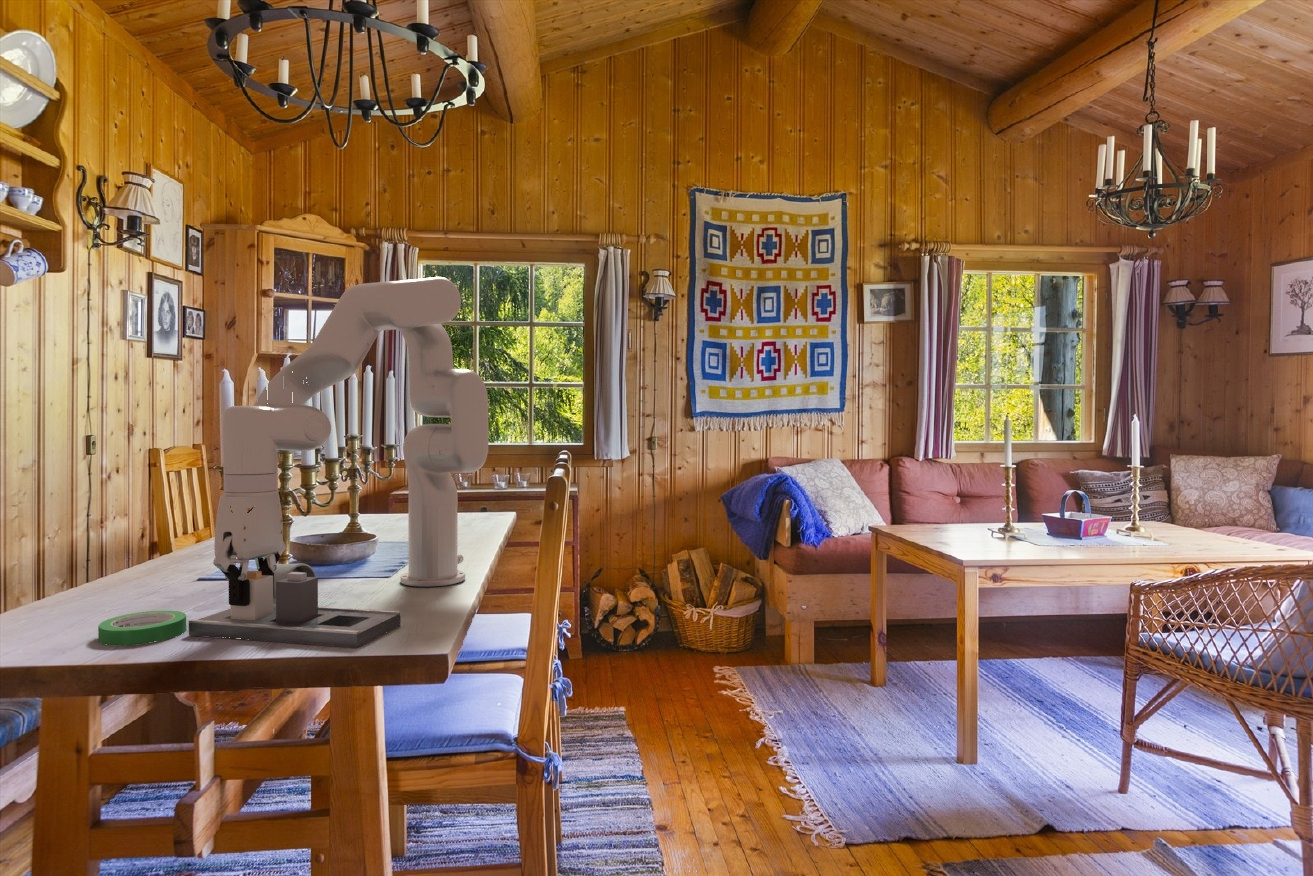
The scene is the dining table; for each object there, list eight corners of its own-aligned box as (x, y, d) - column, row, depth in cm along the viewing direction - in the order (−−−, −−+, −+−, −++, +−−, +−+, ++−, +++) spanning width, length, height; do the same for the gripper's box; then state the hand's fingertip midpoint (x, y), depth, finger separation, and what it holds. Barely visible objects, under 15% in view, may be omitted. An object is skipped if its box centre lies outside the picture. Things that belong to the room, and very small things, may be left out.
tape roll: (126, 652, 110) (125, 633, 109) (82, 641, 115) (82, 623, 114) (202, 632, 119) (202, 615, 119) (159, 623, 124) (158, 607, 124)
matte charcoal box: (294, 626, 122) (293, 569, 122) (318, 628, 121) (317, 571, 121) (276, 633, 118) (275, 575, 118) (300, 635, 117) (300, 576, 117)
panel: (245, 615, 128) (245, 602, 128) (400, 626, 123) (400, 611, 123) (188, 635, 117) (188, 620, 117) (356, 648, 111) (356, 632, 111)
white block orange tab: (249, 624, 124) (249, 568, 124) (273, 625, 123) (272, 569, 123) (230, 631, 120) (230, 573, 119) (255, 633, 119) (254, 574, 119)
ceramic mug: (281, 599, 140) (280, 557, 140) (318, 603, 137) (317, 560, 137) (232, 614, 130) (231, 569, 129) (271, 619, 127) (270, 572, 127)
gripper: (267, 480, 130) (268, 588, 130) (187, 489, 113) (188, 613, 114) (307, 481, 128) (308, 590, 129) (232, 490, 112) (233, 616, 112)
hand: (252, 599), depth 121 cm, fingers open, 4 cm apart
